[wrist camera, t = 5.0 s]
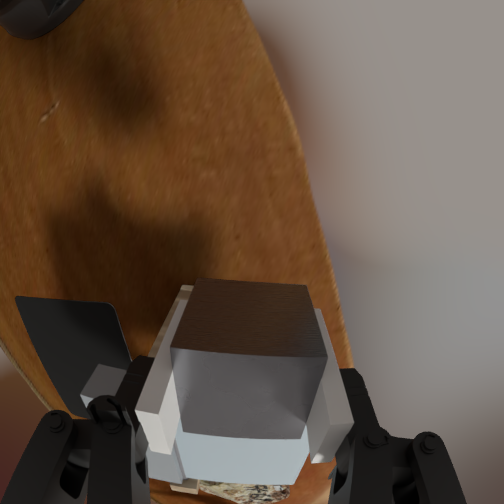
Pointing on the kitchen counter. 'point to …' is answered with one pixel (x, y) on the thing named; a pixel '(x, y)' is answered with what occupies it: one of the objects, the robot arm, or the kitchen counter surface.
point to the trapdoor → (213, 449)
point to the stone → (246, 492)
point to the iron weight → (247, 359)
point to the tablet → (74, 342)
